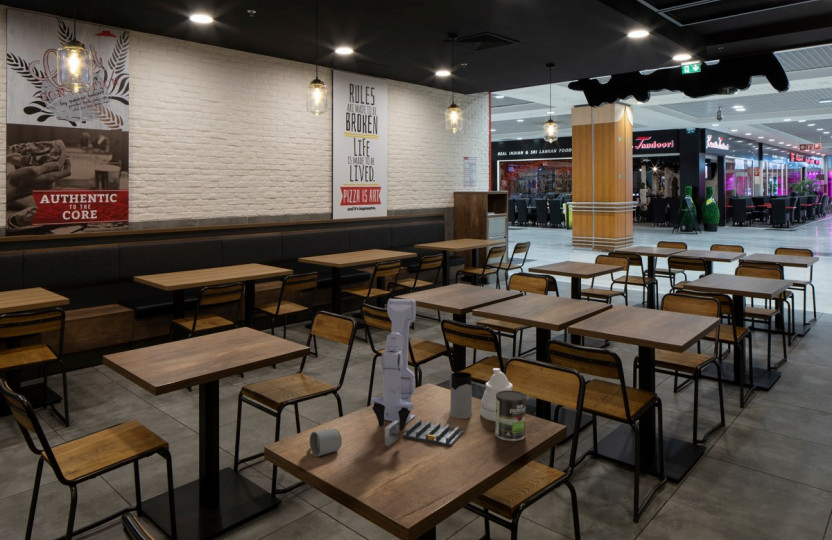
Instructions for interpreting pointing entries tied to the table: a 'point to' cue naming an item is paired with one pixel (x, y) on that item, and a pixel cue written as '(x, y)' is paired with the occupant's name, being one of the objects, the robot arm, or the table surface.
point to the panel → (391, 433)
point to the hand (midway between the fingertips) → (391, 427)
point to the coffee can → (510, 415)
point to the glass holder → (461, 395)
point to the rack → (433, 433)
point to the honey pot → (493, 394)
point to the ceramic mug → (325, 441)
